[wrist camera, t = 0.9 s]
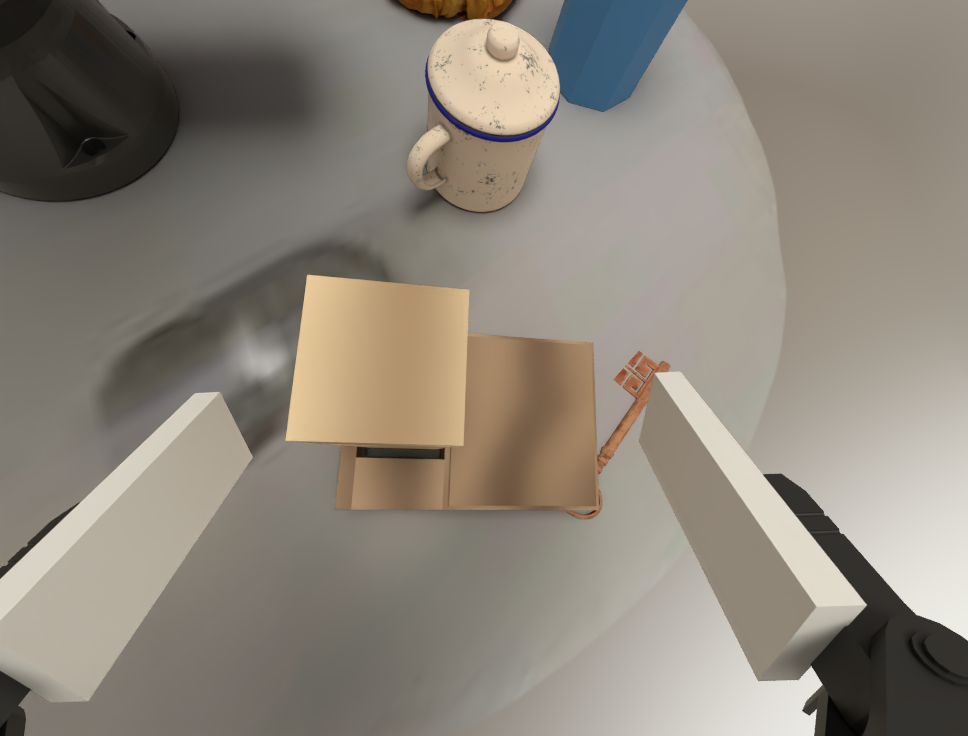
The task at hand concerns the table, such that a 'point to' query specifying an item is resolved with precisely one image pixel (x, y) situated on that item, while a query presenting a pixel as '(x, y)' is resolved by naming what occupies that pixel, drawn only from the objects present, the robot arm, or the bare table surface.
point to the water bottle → (608, 47)
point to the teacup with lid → (483, 113)
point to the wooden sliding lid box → (498, 438)
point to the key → (631, 414)
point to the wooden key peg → (380, 365)
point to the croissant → (459, 8)
